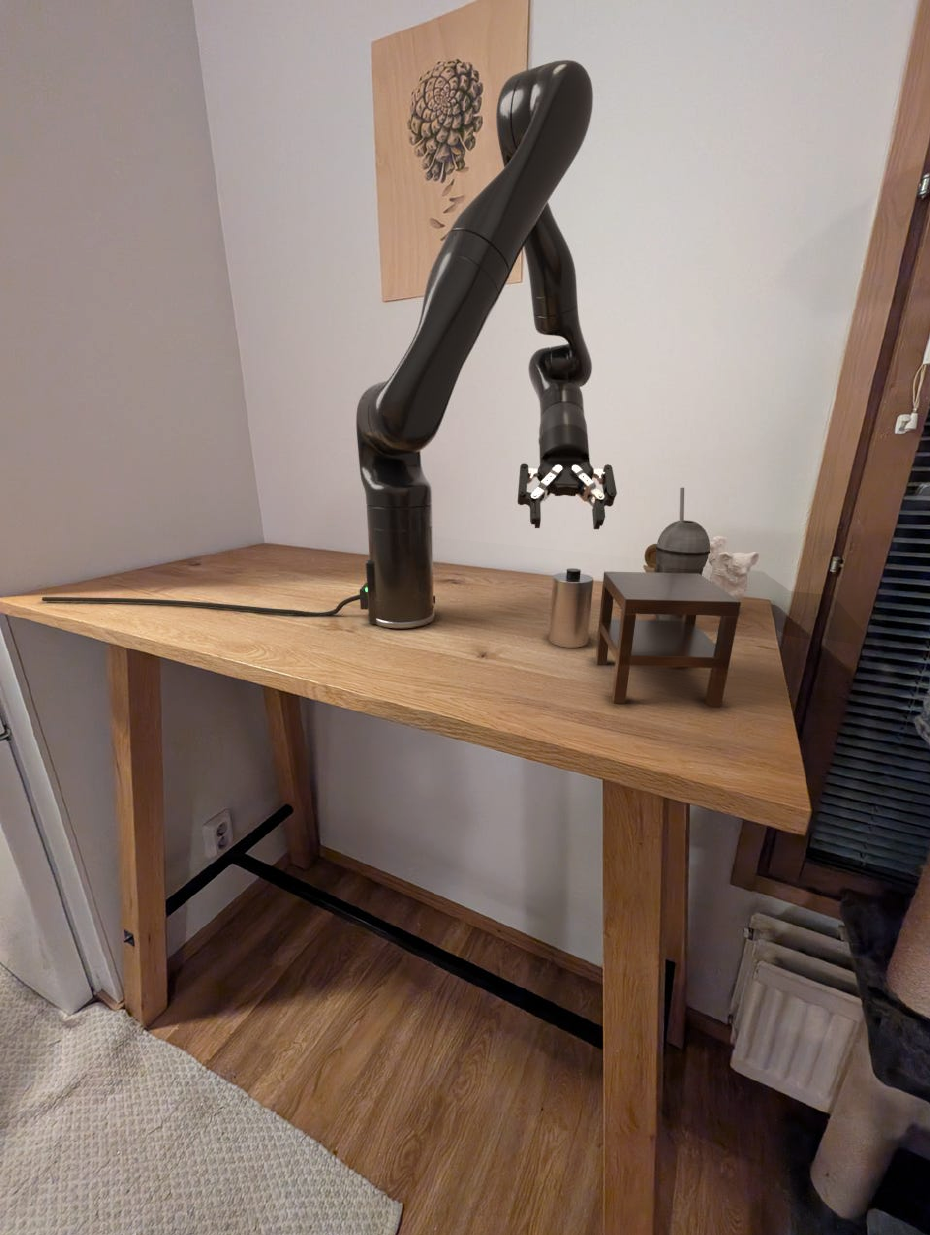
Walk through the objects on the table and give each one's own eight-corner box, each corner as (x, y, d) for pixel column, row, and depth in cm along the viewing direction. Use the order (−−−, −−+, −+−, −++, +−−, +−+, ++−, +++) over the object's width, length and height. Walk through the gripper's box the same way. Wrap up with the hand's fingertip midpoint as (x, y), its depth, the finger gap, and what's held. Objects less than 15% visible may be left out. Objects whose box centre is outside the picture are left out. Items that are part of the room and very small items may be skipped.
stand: (613, 703, 54) (625, 599, 50) (595, 660, 64) (603, 571, 61) (721, 707, 54) (741, 601, 50) (684, 663, 64) (699, 573, 60)
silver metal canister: (550, 647, 68) (555, 574, 65) (547, 633, 73) (551, 564, 70) (590, 648, 68) (597, 575, 65) (584, 634, 73) (590, 565, 70)
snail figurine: (658, 615, 81) (669, 539, 77) (626, 604, 86) (635, 533, 82) (680, 609, 84) (692, 536, 80) (648, 599, 89) (657, 530, 85)
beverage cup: (702, 637, 72) (727, 491, 66) (648, 632, 74) (667, 489, 67) (691, 620, 79) (713, 486, 73) (642, 616, 81) (659, 484, 74)
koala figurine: (689, 613, 82) (701, 538, 78) (690, 601, 88) (701, 531, 84) (749, 620, 79) (765, 543, 75) (745, 608, 85) (760, 535, 81)
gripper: (519, 422, 78) (519, 508, 71) (614, 422, 77) (624, 510, 70) (516, 457, 85) (516, 539, 78) (604, 458, 84) (612, 541, 77)
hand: (567, 525), depth 74 cm, fingers open, 8 cm apart
